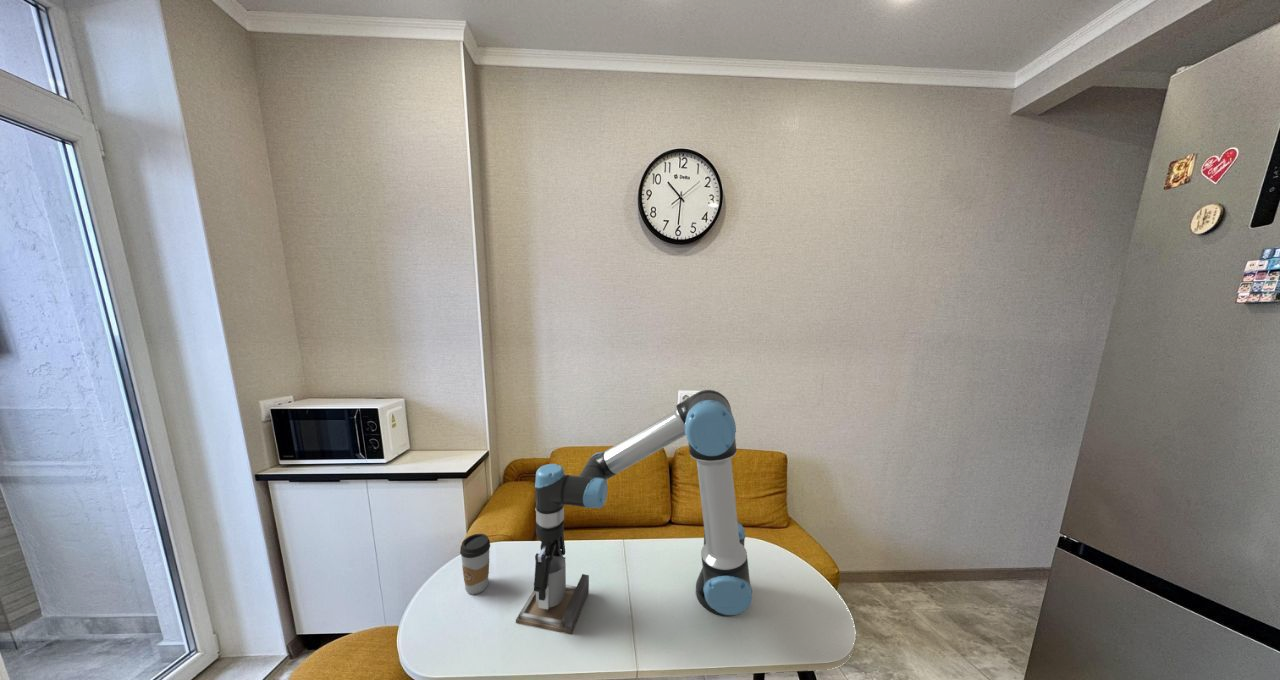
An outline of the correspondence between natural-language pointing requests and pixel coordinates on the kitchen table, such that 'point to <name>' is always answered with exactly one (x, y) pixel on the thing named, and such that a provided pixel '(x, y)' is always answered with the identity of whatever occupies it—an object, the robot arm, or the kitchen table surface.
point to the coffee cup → (475, 562)
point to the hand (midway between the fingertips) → (550, 594)
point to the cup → (556, 581)
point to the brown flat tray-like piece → (557, 609)
